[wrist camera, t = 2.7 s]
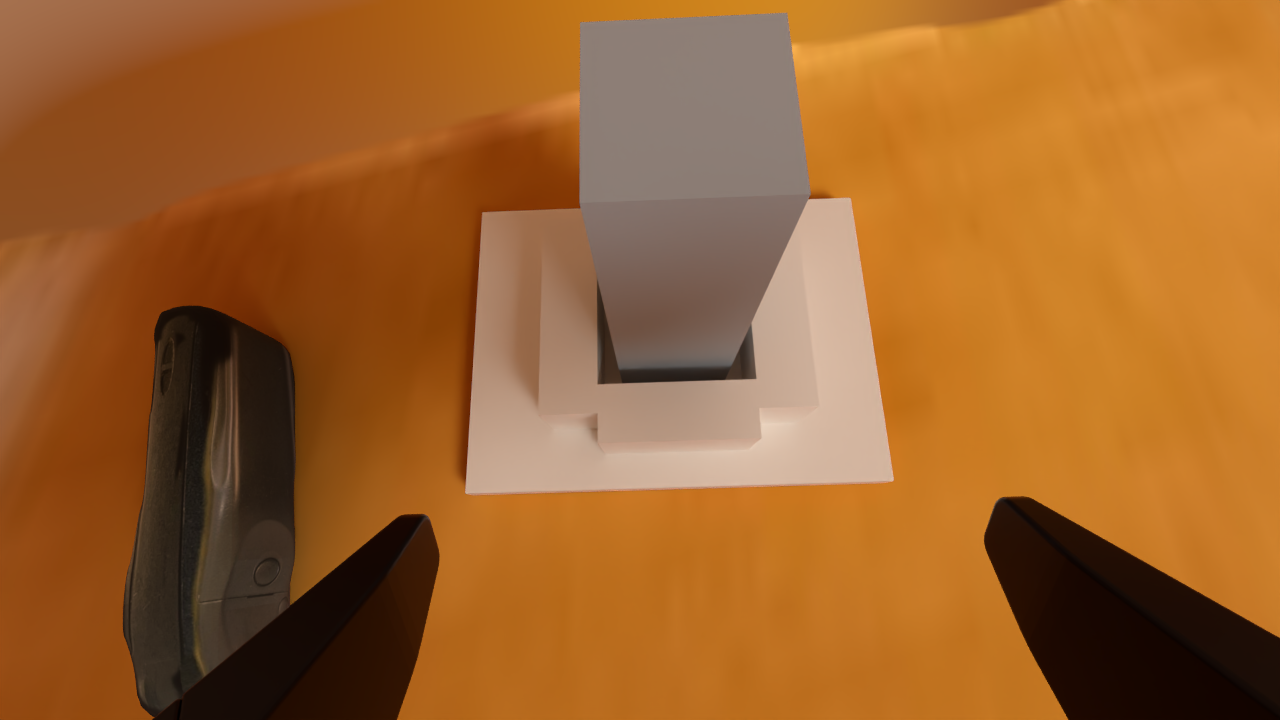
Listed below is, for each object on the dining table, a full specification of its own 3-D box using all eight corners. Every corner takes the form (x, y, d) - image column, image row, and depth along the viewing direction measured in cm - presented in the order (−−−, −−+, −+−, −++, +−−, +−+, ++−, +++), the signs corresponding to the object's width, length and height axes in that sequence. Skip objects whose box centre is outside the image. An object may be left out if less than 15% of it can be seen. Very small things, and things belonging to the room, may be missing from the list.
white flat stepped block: (843, 210, 25) (876, 153, 22) (883, 483, 22) (931, 473, 18) (488, 223, 26) (459, 170, 22) (473, 495, 22) (435, 488, 18)
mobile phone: (131, 306, 20) (100, 804, 15) (216, 287, 20) (212, 776, 15) (233, 352, 25) (233, 742, 20) (301, 336, 25) (317, 721, 20)
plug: (717, 288, 23) (787, 13, 11) (724, 381, 22) (811, 194, 10) (620, 291, 23) (580, 22, 11) (622, 385, 22) (579, 202, 10)
